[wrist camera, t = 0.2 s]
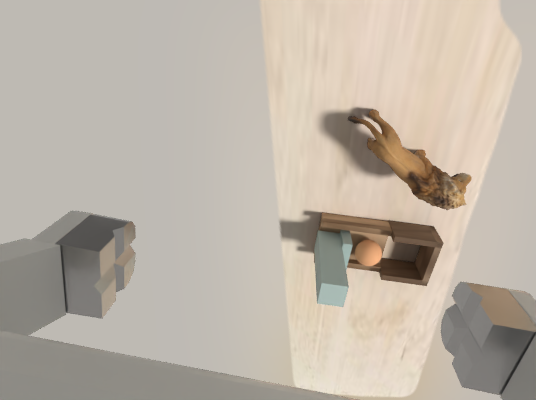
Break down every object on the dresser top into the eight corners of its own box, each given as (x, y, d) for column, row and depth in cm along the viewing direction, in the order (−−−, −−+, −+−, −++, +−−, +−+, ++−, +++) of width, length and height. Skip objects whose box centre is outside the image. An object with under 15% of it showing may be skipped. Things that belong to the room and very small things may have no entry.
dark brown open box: (388, 220, 53) (395, 236, 49) (433, 226, 53) (443, 243, 49) (376, 261, 56) (381, 279, 52) (418, 267, 56) (426, 285, 52)
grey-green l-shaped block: (318, 226, 52) (322, 278, 42) (349, 230, 52) (360, 283, 42) (313, 252, 54) (316, 308, 44) (343, 256, 54) (352, 313, 44)
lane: (322, 212, 53) (322, 221, 51) (388, 221, 53) (392, 231, 50) (313, 252, 56) (314, 262, 54) (376, 261, 56) (379, 271, 54)
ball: (356, 233, 52) (359, 247, 49) (382, 236, 52) (387, 251, 49) (351, 254, 54) (354, 269, 51) (375, 257, 54) (380, 273, 51)
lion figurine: (457, 158, 48) (488, 190, 40) (428, 191, 50) (452, 227, 42) (359, 98, 45) (372, 119, 37) (334, 135, 48) (341, 162, 40)
